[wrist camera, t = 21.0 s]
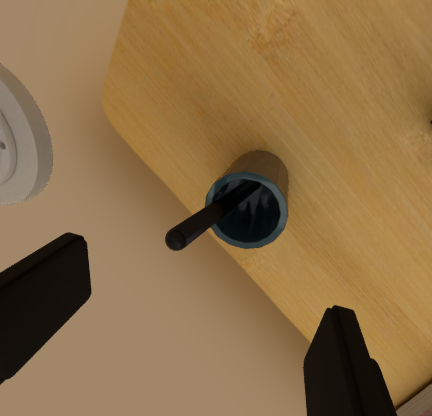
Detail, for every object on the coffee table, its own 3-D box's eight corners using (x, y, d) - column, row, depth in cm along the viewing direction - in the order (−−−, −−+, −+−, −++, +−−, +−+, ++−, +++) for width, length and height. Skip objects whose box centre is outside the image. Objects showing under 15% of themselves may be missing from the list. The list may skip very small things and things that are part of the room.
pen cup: (225, 199, 26) (200, 237, 19) (234, 145, 23) (210, 163, 16) (280, 212, 25) (275, 257, 18) (295, 156, 22) (297, 182, 15)
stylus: (249, 186, 24) (159, 249, 13) (252, 174, 23) (160, 229, 13) (261, 189, 24) (178, 258, 13) (264, 177, 23) (180, 238, 12)
